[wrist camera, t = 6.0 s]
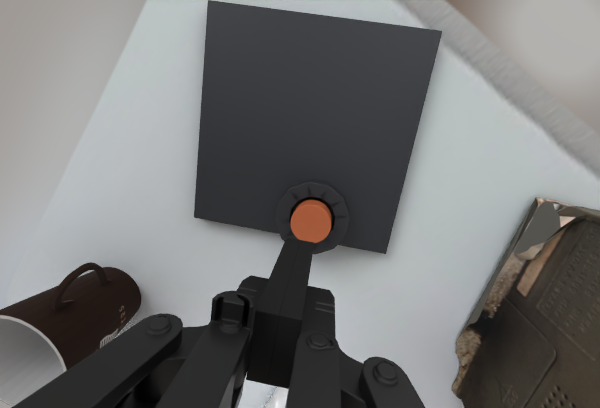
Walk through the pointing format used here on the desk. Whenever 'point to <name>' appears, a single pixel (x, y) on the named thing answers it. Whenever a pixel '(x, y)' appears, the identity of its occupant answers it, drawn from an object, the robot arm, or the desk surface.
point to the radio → (538, 317)
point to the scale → (309, 120)
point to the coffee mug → (62, 327)
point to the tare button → (311, 221)
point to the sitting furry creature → (278, 398)
